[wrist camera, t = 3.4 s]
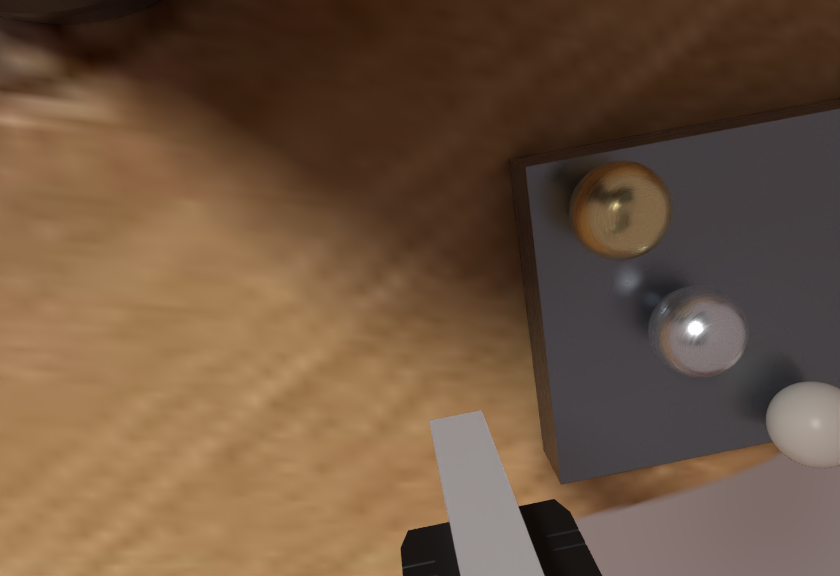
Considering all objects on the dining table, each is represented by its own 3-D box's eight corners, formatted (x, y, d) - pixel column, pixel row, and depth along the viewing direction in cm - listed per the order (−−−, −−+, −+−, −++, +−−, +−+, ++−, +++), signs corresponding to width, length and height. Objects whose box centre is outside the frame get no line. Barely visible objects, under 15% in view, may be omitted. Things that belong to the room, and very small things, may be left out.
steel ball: (631, 283, 22) (673, 313, 19) (715, 267, 22) (771, 295, 19) (635, 361, 23) (676, 402, 20) (716, 345, 23) (769, 383, 20)
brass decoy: (551, 165, 20) (584, 177, 17) (642, 148, 20) (691, 157, 17) (560, 254, 21) (592, 281, 18) (647, 238, 21) (694, 261, 18)
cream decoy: (748, 375, 24) (804, 417, 20) (826, 360, 24) (894, 399, 21) (747, 444, 25) (801, 494, 22) (822, 429, 25) (886, 476, 22)
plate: (543, 450, 27) (561, 484, 24) (508, 159, 23) (525, 166, 20) (1011, 356, 27) (1072, 380, 25) (1060, 57, 23) (1139, 53, 21)
